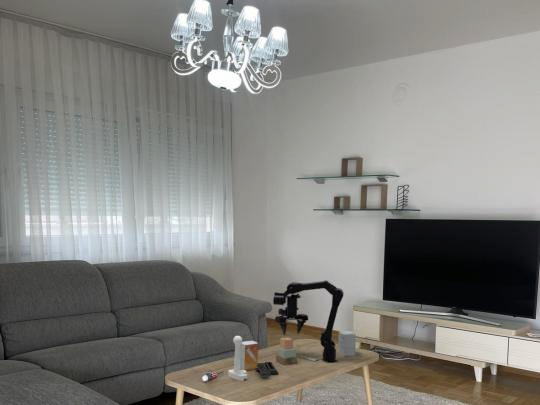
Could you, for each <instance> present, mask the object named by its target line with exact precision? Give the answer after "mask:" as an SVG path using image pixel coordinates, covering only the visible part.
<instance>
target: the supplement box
mask: <svg viewBox="0 0 540 405" xmlns="http://www.w3.org/2000/svg"><path fill="white" fill-rule="evenodd" d="M338 354H339V355H340V354H341V355H340V356H342V357H343V356H344V357H343V358H346V356H347V357H355V356H356V333H355V332H353V331H351V330H345V331H343V330H342V331H341V330H340V331H338Z"/></svg>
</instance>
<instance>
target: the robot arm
mask: <svg viewBox="0 0 540 405" xmlns="http://www.w3.org/2000/svg"><path fill="white" fill-rule="evenodd" d="M321 289H324V290H326V291H327V292H328V293H329V294H330V295H331V296H332V298H331V300H332V301H331V308H330V311H329V316H328V319H327V323H326V327H325V330H322V331H321V334H320V338H319V341H320V345H321V346H322V347H323V351H322V358H321V361H324V362H325V363H329V364H330V363H335V362H338V360H337V349H336V342H334V340H333V330H334V325H335V321H336V317H337V314H338V309H339V307H340V304H341V302H342V300H343V298H344V295H345V294H344V293H345V292H344V291H343V289H342V288H339V287H336V286H335V285H334V284H332V283H331V282H329V281H328V280H327V279H326V280H321V281H312V282H305V283H304V282H297V281H296V282H294V281H292V282H290V283H289V284H288V285H287V287H286V290H285V291H284V292H278V291H275V292H274V294H273V299H272V300H273V302H272V304H273V305H275V306H285V304H286V306H285V308H278V312H277V313H278V315H277V316H276V315H275V318H274V322H276V323H277V324H279V325H280V328H281V330H282V334H283V336H285V335H286V333H287V325H288V323H287V321H293V320H294V321H295V320H296V323H297V326H296V327H297V329H296V330H297V334H300V332H301V330H302V329H303V326H304V325H305V324H306V323H307V322H308V321H309V316H308V314H306V313H298V310H299V307H298V299H301V297H302V296H301V295H300V293H301V292H303V291H310V290H311V291H312V290H321Z"/></svg>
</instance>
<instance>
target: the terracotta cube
mask: <svg viewBox="0 0 540 405" xmlns="http://www.w3.org/2000/svg"><path fill="white" fill-rule="evenodd" d="M279 347H280V348H282V349H284V350H288V349H293V348H294V339H293V338H291V337H288V336H287V337H281V338H279Z"/></svg>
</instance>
